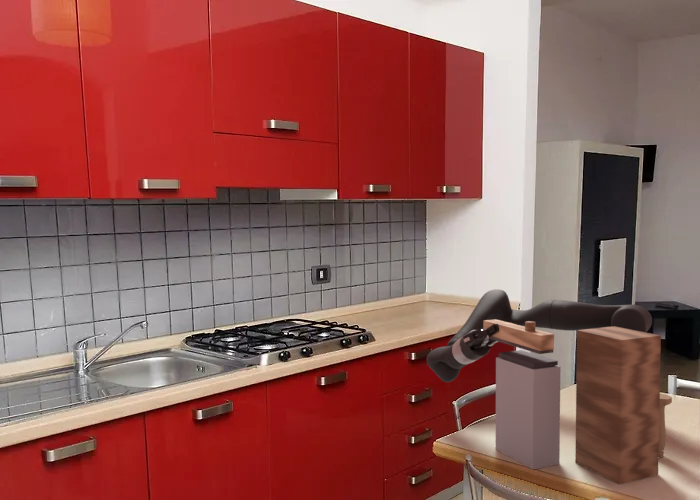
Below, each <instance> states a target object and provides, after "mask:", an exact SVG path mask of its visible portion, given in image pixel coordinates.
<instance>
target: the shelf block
mask: <svg viewBox="0 0 700 500" xmlns="http://www.w3.org/2000/svg"><path fill="white" fill-rule="evenodd" d="M661 340H662V335H659V334H655V333H650V332H646V333H645V332H640V331H635V330H630V329H625V328H620V327H615V326H613V327H603V328H594V329H584V330H576V373H575V374H576V377H575V379H576V382H575V384H576V385H575V386H576V387H575V391H576V392H575V398H576V399H575V454H574V455H575V459H574V460H575V462H574V463H576V464H578V465H579V466H582V467H584V468H586V469H587V470H589V471H592V472H594V473H596V474H597V475H600V476H602V477H604V478H605V479H608V480H610V481H612V482H613V483H616V484H618V485H622V484H625V483H630V482H635V481H638V480H642V479H646V478H651V477H654V476H658V475H659V408H660V394H661V393H660V392H661V352H662V350H661V349H662V347H661V345H662V344H661V343H662V342H661Z"/></svg>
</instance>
